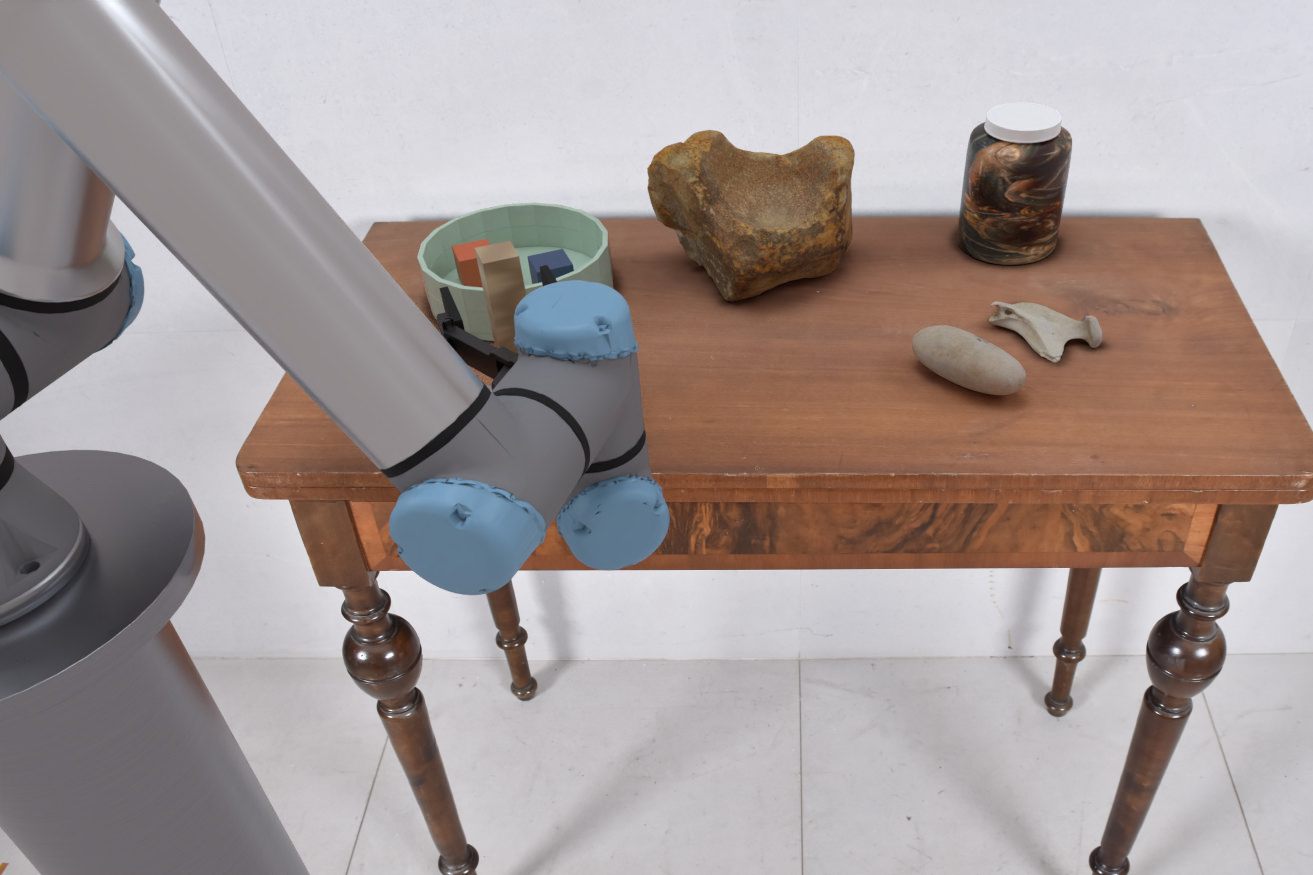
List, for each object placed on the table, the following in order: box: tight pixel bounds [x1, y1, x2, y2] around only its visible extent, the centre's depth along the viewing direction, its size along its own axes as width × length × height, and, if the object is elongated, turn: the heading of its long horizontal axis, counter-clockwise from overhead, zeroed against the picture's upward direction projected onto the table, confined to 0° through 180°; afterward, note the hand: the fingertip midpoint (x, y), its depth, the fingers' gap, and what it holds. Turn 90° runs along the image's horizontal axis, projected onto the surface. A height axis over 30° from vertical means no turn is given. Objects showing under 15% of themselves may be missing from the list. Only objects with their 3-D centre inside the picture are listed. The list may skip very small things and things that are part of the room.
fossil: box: [988, 300, 1103, 364], centre depth 110 cm, size 7×11×3 cm, turn 40°
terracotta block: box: [452, 239, 490, 288], centre depth 119 cm, size 4×4×4 cm
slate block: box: [528, 249, 574, 284], centre depth 117 cm, size 4×4×4 cm
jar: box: [956, 101, 1073, 266], centre depth 122 cm, size 12×12×15 cm
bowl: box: [416, 202, 615, 342], centre depth 118 cm, size 20×20×6 cm
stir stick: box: [475, 241, 526, 353], centre depth 98 cm, size 3×3×16 cm
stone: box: [911, 324, 1027, 396], centre depth 103 cm, size 6×6×12 cm
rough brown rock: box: [647, 129, 856, 302], centre depth 117 cm, size 23×17×15 cm
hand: (496, 289), depth 100 cm, fingers open, 9 cm apart
